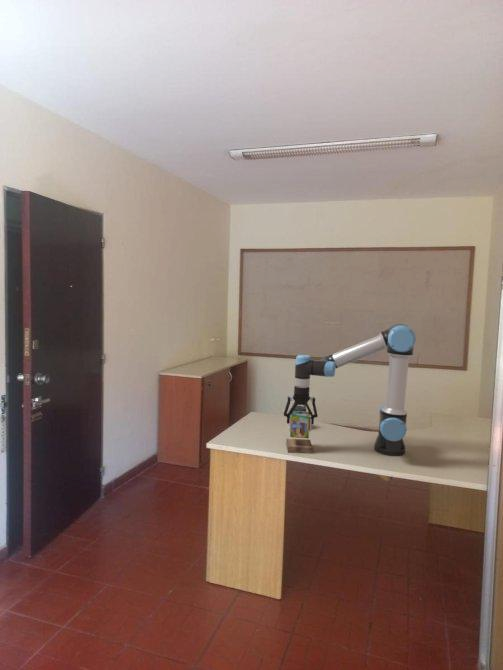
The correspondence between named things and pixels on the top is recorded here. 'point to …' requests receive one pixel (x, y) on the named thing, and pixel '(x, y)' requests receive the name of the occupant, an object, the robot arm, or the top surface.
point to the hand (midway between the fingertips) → (299, 430)
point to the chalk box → (300, 424)
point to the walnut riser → (299, 446)
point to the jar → (300, 408)
